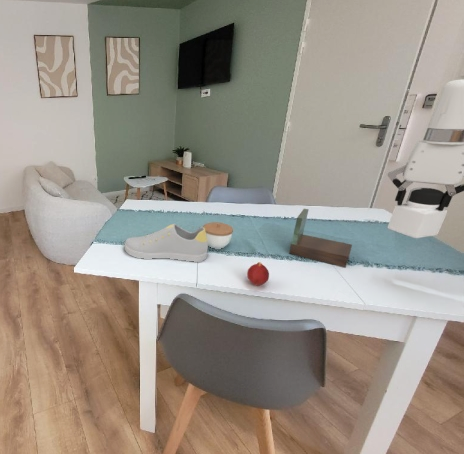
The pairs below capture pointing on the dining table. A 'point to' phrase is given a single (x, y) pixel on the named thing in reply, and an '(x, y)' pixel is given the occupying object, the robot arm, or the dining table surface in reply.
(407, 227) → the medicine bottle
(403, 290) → the dining table surface
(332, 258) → the brown hinged box
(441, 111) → the robot arm
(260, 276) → the onion
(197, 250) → the shoe
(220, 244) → the trinket box
